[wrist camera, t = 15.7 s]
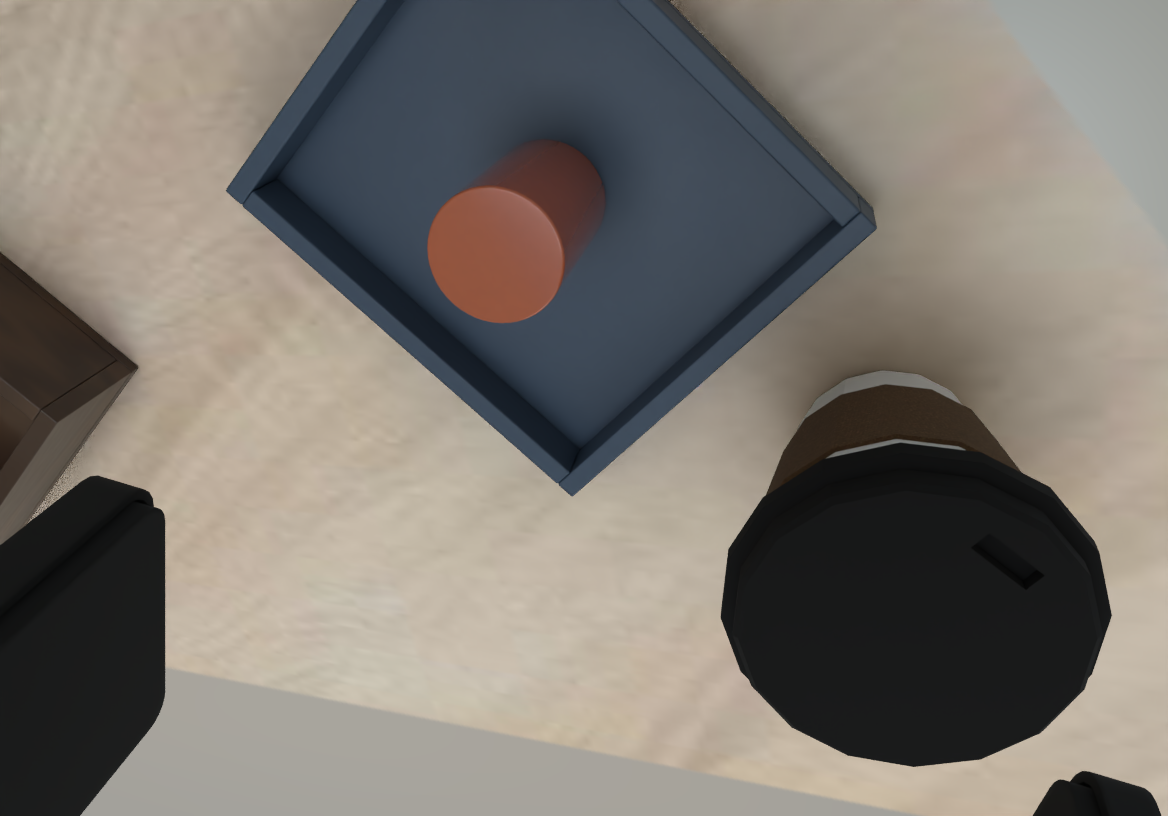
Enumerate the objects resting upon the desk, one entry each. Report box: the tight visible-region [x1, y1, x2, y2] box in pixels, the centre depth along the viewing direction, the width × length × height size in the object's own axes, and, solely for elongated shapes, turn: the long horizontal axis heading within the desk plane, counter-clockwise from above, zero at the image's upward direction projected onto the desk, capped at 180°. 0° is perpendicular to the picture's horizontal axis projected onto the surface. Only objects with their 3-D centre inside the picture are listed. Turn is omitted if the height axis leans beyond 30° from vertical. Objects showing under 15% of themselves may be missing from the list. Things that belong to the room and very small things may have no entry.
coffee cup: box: [721, 370, 1112, 767], centre depth 34 cm, size 11×11×12 cm
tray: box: [226, 0, 877, 496], centre depth 36 cm, size 18×16×2 cm
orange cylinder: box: [427, 139, 606, 323], centre depth 34 cm, size 4×4×7 cm
